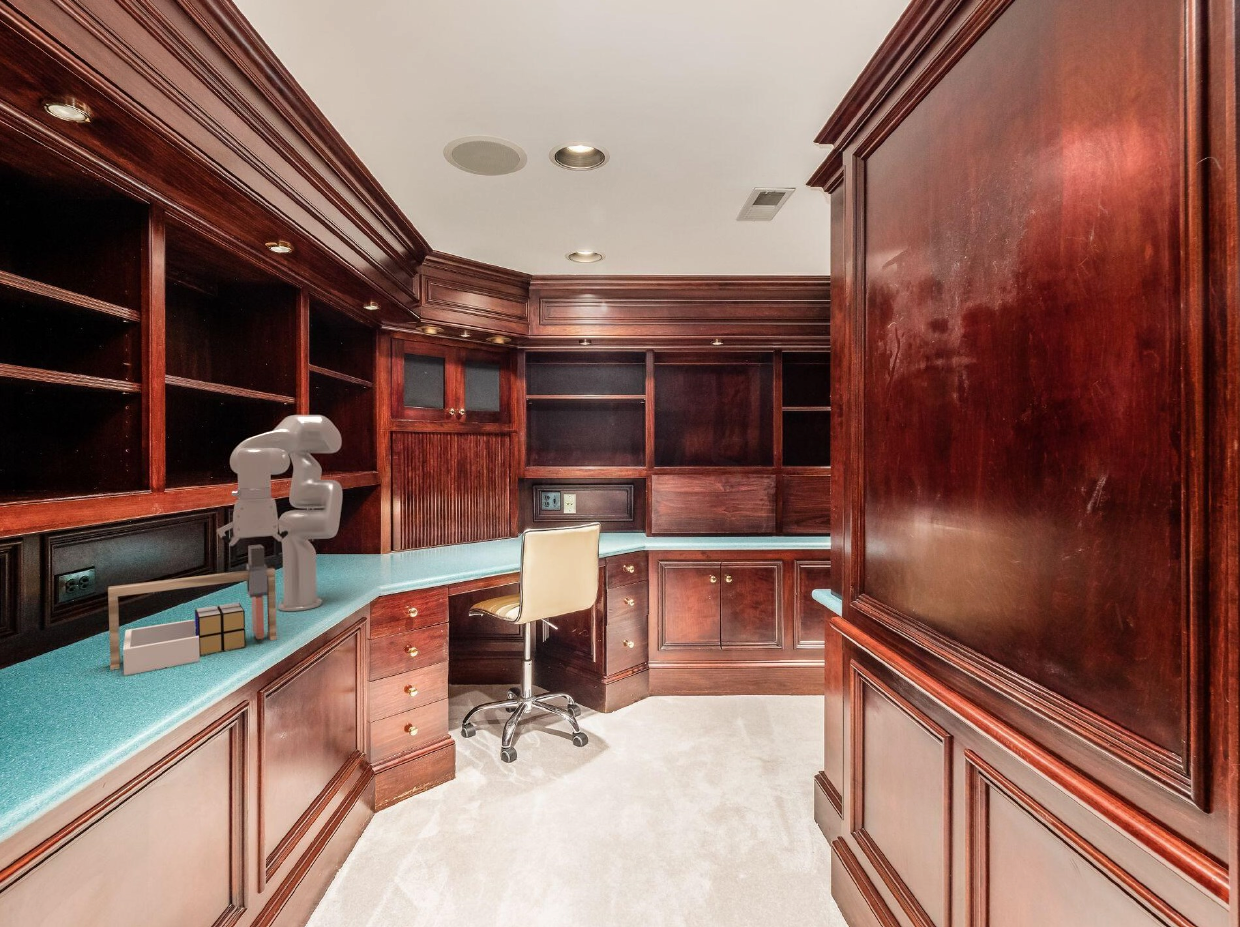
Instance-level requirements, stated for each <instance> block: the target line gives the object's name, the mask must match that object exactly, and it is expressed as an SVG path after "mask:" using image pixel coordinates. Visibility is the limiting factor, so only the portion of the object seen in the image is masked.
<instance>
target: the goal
mask: <svg viewBox="0 0 1240 927" xmlns="http://www.w3.org/2000/svg"><path fill="white" fill-rule="evenodd" d="M195 629H196V627H195V618H194V619H189V620H182V621H175V622H169V623H163V624H156V625H155V624H154V625H149V626H142V627H137V628H131V629H129V628H128V629H125V631H124V632H125V633H124V640H123V648H122V654H123V655H122V656H123V659H122V660H123V676H124V677H125V676H128V675H135V674H140V673H145V672H150V671H155V669H156V670H160V669H165V667H167V668H171V667H175V666H176V667H177V666H181V665H186V664H190V663H191V664H192V663H197V662H200V661H201V659H200V658H201V656H200V654H199V636H196V635H195Z"/></svg>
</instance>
